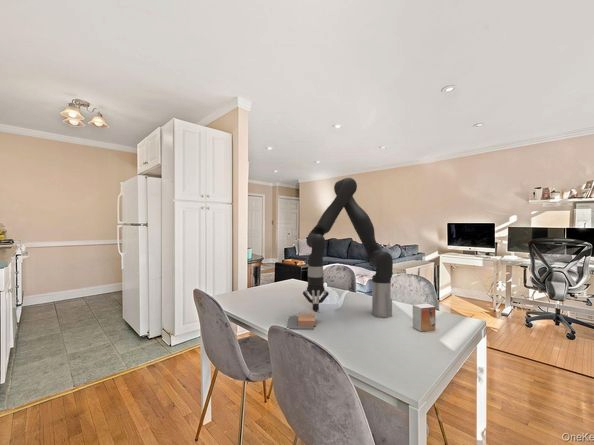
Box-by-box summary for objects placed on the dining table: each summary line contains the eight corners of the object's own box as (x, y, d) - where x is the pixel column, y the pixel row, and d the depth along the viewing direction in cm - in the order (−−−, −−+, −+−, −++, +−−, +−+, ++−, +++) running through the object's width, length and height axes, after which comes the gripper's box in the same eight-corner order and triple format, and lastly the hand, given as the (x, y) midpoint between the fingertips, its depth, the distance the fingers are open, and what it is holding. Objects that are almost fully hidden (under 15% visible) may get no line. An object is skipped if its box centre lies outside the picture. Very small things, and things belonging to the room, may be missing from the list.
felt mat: (312, 316, 136) (312, 316, 136) (313, 329, 120) (313, 328, 120) (289, 316, 137) (289, 316, 137) (287, 329, 121) (287, 328, 121)
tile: (314, 313, 133) (298, 313, 133) (315, 320, 123) (298, 320, 123) (314, 318, 133) (298, 318, 133) (315, 326, 123) (298, 325, 123)
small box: (420, 332, 117) (420, 308, 117) (412, 327, 122) (412, 304, 122) (436, 330, 119) (435, 306, 119) (426, 325, 124) (426, 303, 124)
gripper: (328, 273, 132) (328, 308, 132) (302, 273, 132) (302, 308, 132) (330, 276, 124) (330, 314, 124) (301, 276, 124) (301, 313, 124)
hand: (315, 311), depth 128 cm, fingers closed
